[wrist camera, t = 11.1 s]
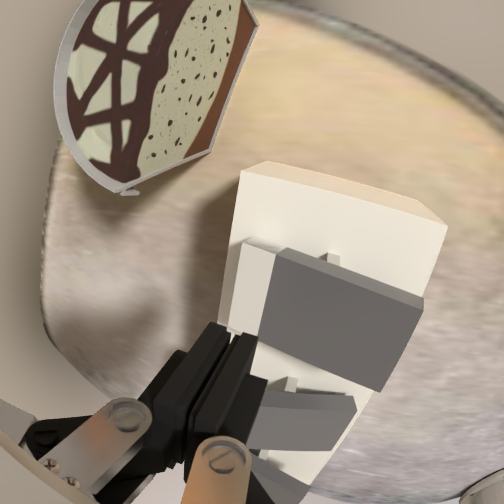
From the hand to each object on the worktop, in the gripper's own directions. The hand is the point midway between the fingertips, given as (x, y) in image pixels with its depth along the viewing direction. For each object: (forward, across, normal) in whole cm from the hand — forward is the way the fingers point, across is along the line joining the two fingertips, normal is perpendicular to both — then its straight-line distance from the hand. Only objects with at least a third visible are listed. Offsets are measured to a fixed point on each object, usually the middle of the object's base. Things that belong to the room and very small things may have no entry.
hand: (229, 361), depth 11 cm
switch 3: (+4, -3, +16) cm, 16 cm away
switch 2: (+4, -3, +8) cm, 9 cm away
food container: (+12, +8, -10) cm, 18 cm away
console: (+12, -3, +8) cm, 15 cm away
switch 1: (+4, -3, 0) cm, 5 cm away
